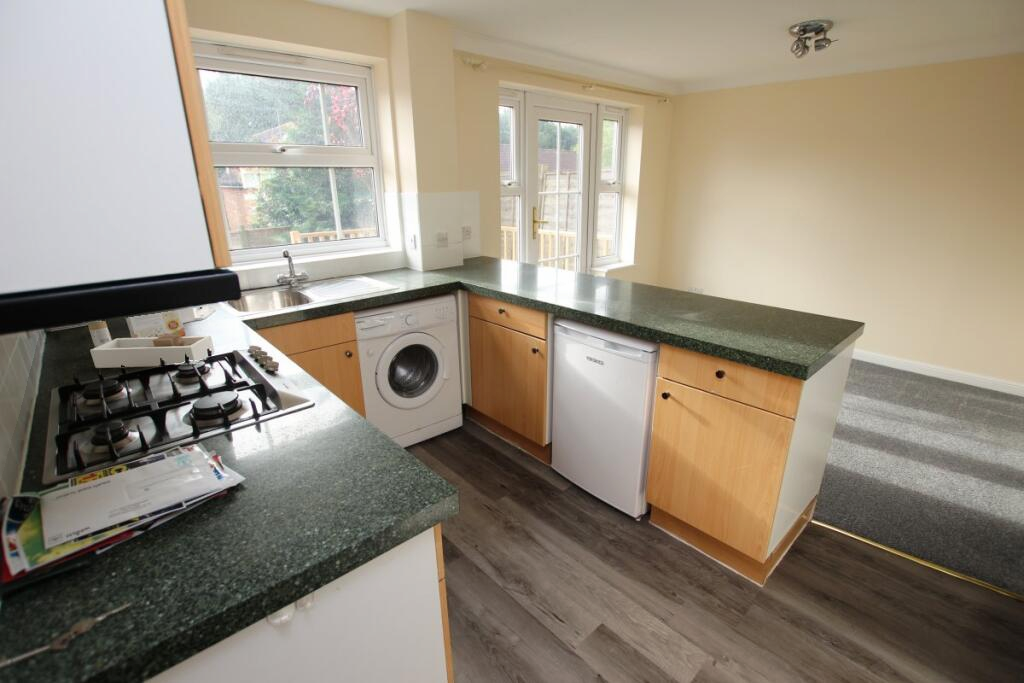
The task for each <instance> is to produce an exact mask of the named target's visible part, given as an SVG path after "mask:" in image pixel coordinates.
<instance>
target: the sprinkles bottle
mask: <svg viewBox="0 0 1024 683" xmlns="http://www.w3.org/2000/svg"><path fill="white" fill-rule="evenodd" d="M87 326H88V331H89V333H90V335H91V339H92V343H93V345H94V348H96V347H98V346H100V345H103V344H105V343H107V342H110V341H112V340H113V339H112V336H111V333H110V331H109V329H108V328H109V327H108V324H107V321H106V320H105V321H101V322H95V323H90V324H87Z"/></svg>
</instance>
